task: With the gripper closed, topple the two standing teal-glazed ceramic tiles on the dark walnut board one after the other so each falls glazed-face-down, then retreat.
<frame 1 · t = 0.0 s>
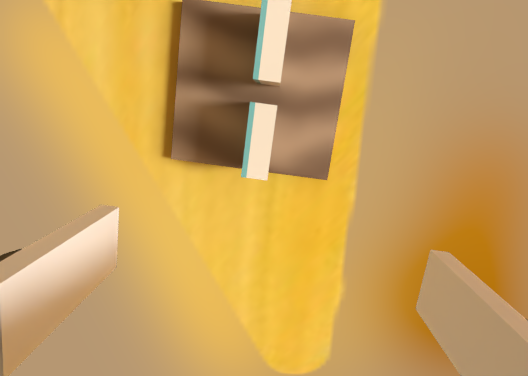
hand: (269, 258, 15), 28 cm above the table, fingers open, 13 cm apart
tile A: (272, 50, 38), point 1 cm above the table, touching walnut board
tile B: (262, 135, 40), point 1 cm above the table, touching walnut board
walnut board: (259, 93, 41), on the table
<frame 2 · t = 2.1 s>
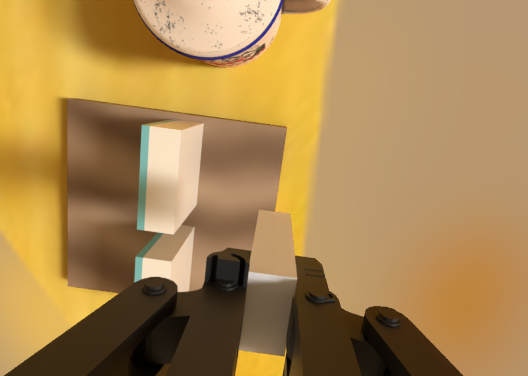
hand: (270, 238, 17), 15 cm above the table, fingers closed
tile A: (185, 163, 30), point 1 cm above the table, touching walnut board
tile B: (177, 261, 32), point 1 cm above the table, touching walnut board
teacup with lid: (245, 12, 29), on the table
walnut board: (174, 207, 33), on the table
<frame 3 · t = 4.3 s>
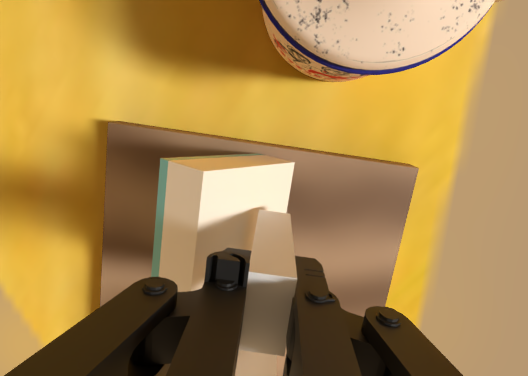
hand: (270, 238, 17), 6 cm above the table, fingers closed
tile A: (266, 216, 21), point 2 cm above the table, tilted 33°, touching walnut board
tile B: (250, 344, 24), point 1 cm above the table, touching walnut board
teacup with lid: (364, 4, 20), on the table
walnut board: (245, 269, 24), on the table
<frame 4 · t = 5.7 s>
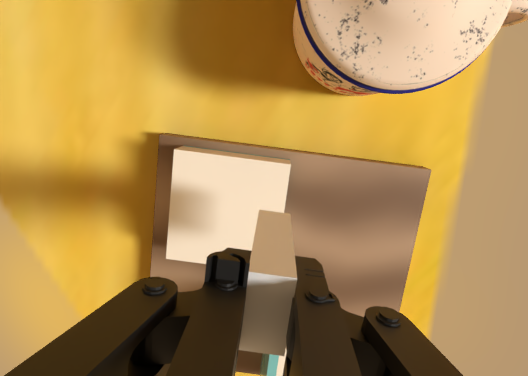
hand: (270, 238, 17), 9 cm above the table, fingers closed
tile A: (282, 214, 23), point 3 cm above the table, tilted 90°, touching walnut board
tile B: (283, 329, 26), point 1 cm above the table, touching walnut board
teacup with lid: (380, 29, 24), on the table
walnut board: (277, 262, 27), on the table
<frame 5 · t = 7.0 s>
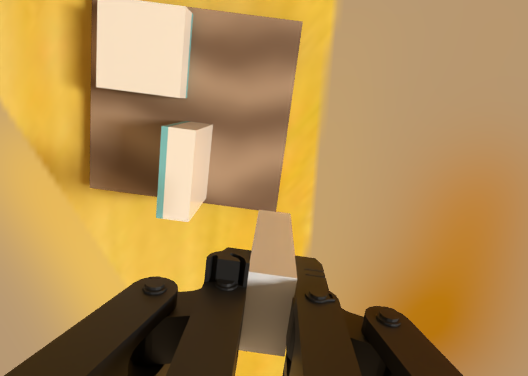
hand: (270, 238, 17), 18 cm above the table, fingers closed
tile A: (186, 55, 30), point 3 cm above the table, tilted 90°, touching walnut board
tile B: (196, 160, 34), point 1 cm above the table, touching walnut board
walnut board: (193, 109, 34), on the table
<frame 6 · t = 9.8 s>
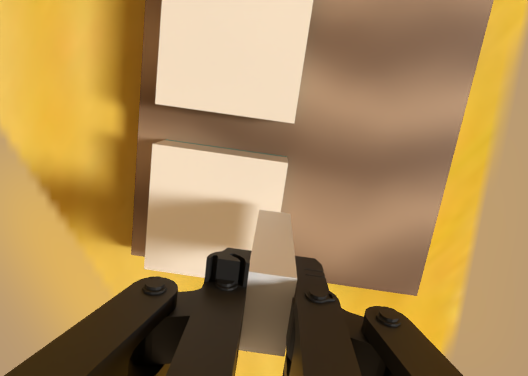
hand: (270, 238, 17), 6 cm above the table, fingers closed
tile A: (303, 53, 18), point 3 cm above the table, tilted 90°, touching walnut board
tile B: (278, 220, 20), point 3 cm above the table, tilted 90°, touching walnut board
walnut board: (293, 137, 22), on the table
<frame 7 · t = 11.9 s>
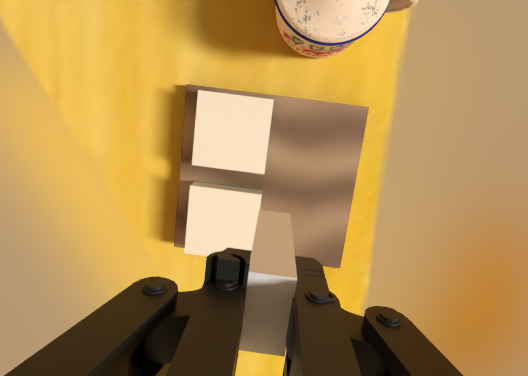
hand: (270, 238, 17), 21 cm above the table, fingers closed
tile A: (269, 136, 35), point 3 cm above the table, tilted 90°, touching walnut board
tile B: (258, 225, 37), point 3 cm above the table, tilted 90°, touching walnut board
teacup with lid: (334, 13, 35), on the table
walnut board: (267, 177, 39), on the table
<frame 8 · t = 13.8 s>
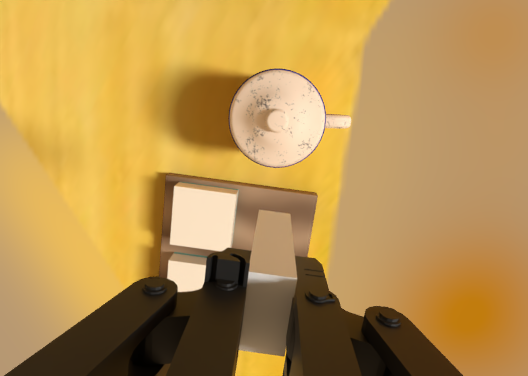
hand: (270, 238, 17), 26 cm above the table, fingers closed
tile A: (234, 220, 42), point 3 cm above the table, tilted 90°, touching walnut board
tile B: (226, 290, 44), point 3 cm above the table, tilted 90°, touching walnut board
teacup with lid: (289, 117, 42), on the table
walnut board: (235, 247, 46), on the table
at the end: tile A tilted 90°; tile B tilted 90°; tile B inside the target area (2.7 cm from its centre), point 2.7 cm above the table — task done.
